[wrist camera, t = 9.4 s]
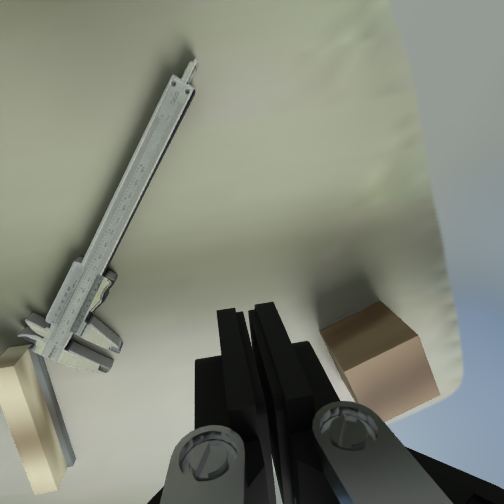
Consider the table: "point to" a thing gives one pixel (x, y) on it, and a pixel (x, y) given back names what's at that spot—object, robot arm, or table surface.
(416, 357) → the walnut block
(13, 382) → the rail
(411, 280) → the table surface
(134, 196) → the caliper
